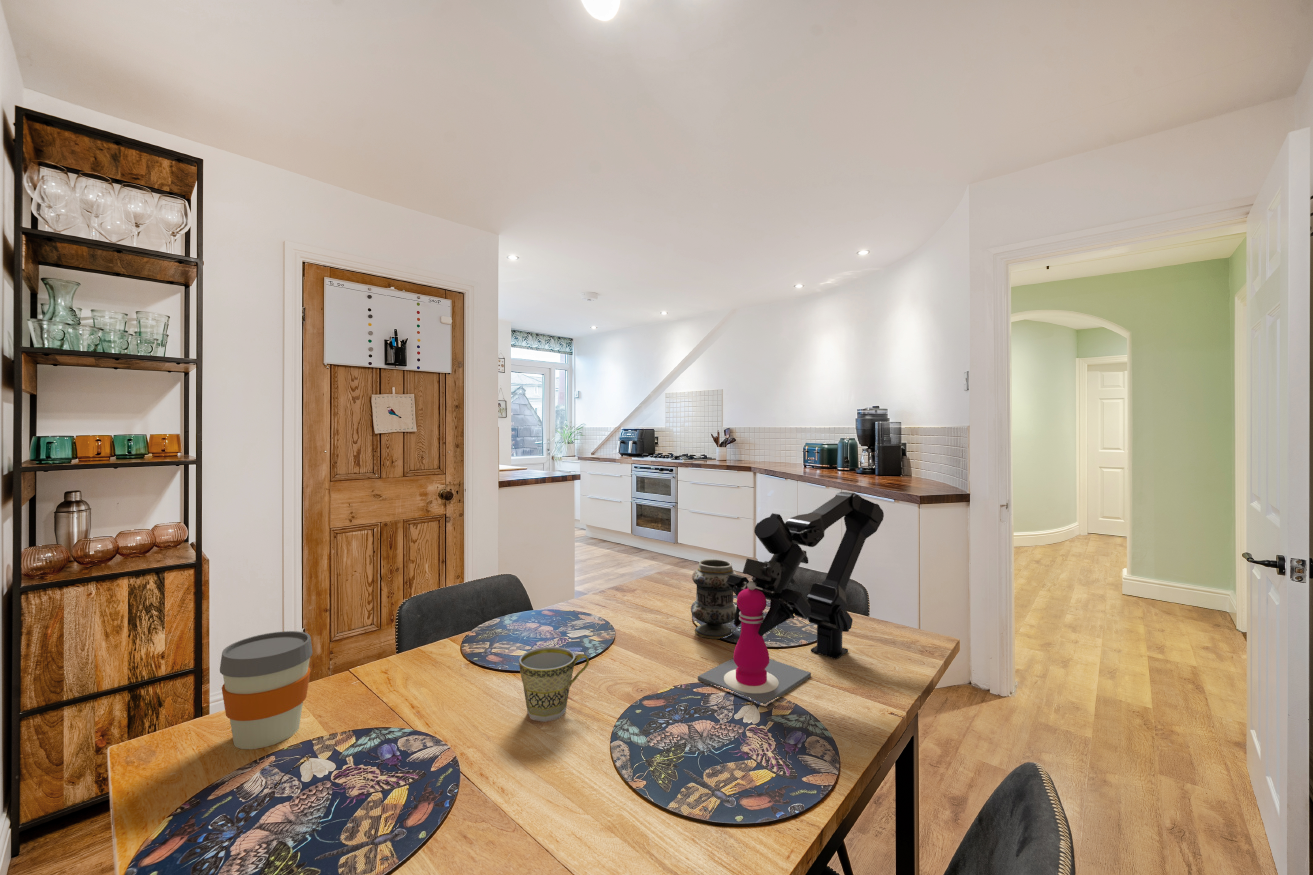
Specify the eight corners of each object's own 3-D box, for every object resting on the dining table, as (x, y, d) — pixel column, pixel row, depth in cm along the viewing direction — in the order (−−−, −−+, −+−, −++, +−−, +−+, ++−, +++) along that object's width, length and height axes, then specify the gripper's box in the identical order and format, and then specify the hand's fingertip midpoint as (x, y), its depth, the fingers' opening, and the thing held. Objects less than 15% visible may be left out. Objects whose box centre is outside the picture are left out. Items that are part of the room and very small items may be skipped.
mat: (746, 654, 125) (746, 650, 125) (810, 676, 114) (810, 671, 114) (697, 679, 111) (697, 675, 111) (764, 707, 100) (764, 702, 100)
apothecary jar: (740, 641, 132) (741, 568, 132) (691, 640, 133) (692, 567, 132) (734, 624, 144) (735, 557, 144) (689, 623, 145) (690, 556, 145)
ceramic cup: (525, 732, 91) (526, 673, 91) (512, 705, 100) (513, 652, 100) (597, 714, 97) (598, 659, 97) (579, 691, 106) (580, 640, 106)
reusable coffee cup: (239, 765, 81) (239, 666, 81) (205, 739, 88) (206, 648, 88) (326, 727, 92) (327, 640, 92) (290, 707, 99) (291, 625, 99)
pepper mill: (757, 690, 105) (758, 588, 105) (726, 679, 110) (726, 581, 109) (775, 678, 110) (776, 580, 110) (745, 668, 115) (745, 574, 115)
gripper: (732, 537, 119) (694, 595, 112) (802, 551, 105) (764, 620, 98) (755, 567, 124) (721, 625, 117) (825, 585, 110) (791, 652, 103)
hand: (747, 629), depth 109 cm, fingers open, 6 cm apart
